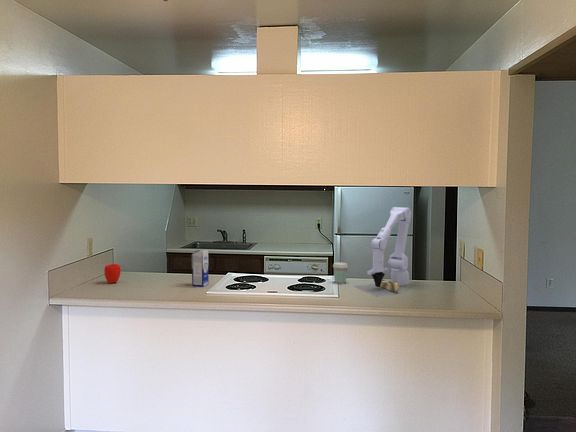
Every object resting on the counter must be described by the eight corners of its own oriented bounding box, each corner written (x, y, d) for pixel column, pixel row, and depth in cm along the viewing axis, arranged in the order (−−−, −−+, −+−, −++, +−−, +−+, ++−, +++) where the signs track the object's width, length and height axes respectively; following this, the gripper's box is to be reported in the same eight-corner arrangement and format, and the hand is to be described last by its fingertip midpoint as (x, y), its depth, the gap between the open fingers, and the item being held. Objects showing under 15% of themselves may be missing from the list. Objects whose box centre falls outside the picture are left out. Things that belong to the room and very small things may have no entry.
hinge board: (380, 285, 253) (380, 283, 253) (406, 295, 230) (406, 293, 230) (352, 287, 247) (352, 285, 247) (376, 298, 224) (376, 296, 224)
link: (375, 285, 248) (376, 279, 248) (382, 284, 249) (383, 279, 249) (391, 291, 233) (391, 285, 233) (398, 290, 234) (398, 285, 234)
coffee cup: (350, 285, 253) (350, 264, 252) (336, 286, 250) (336, 265, 249) (343, 282, 261) (344, 261, 260) (330, 283, 258) (330, 262, 257)
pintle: (382, 279, 247) (382, 278, 247) (384, 280, 246) (384, 279, 245) (379, 279, 247) (379, 278, 247) (380, 280, 245) (381, 279, 245)
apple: (119, 284, 254) (119, 265, 253) (103, 284, 252) (102, 265, 251) (121, 280, 263) (121, 262, 262) (106, 281, 261) (105, 263, 260)
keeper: (388, 290, 236) (388, 280, 236) (392, 290, 237) (393, 280, 236) (394, 293, 230) (395, 283, 229) (399, 293, 230) (399, 283, 230)
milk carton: (203, 287, 247) (202, 251, 246) (192, 286, 249) (191, 250, 248) (208, 284, 254) (208, 249, 253) (197, 283, 256) (197, 248, 255)
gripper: (381, 258, 246) (381, 283, 247) (363, 261, 237) (362, 287, 238) (391, 260, 240) (391, 285, 241) (373, 263, 231) (372, 289, 232)
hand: (377, 286), depth 239 cm, fingers closed
